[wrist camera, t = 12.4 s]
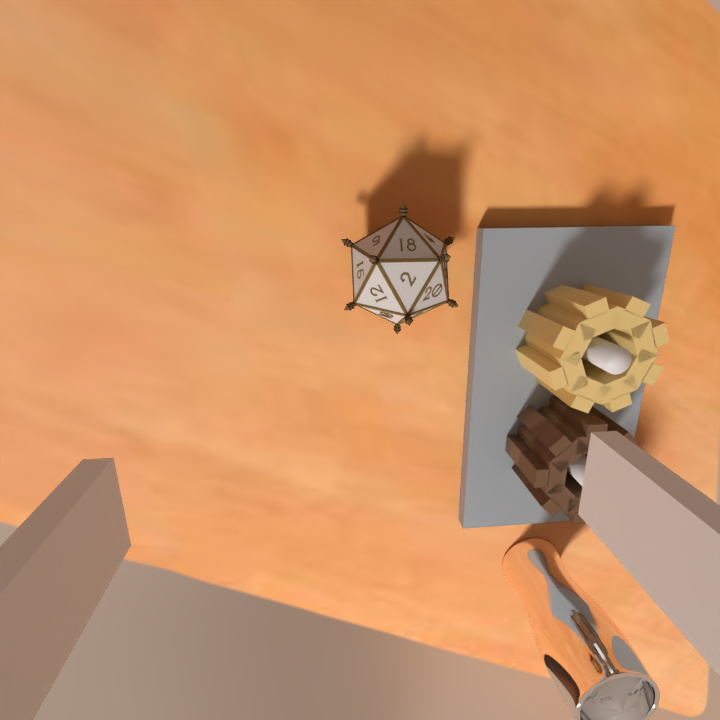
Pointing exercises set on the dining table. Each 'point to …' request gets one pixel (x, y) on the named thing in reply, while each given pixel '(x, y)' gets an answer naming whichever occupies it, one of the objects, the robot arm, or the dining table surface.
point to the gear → (574, 333)
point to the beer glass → (578, 639)
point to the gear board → (503, 336)
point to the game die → (399, 271)
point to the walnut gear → (555, 452)
